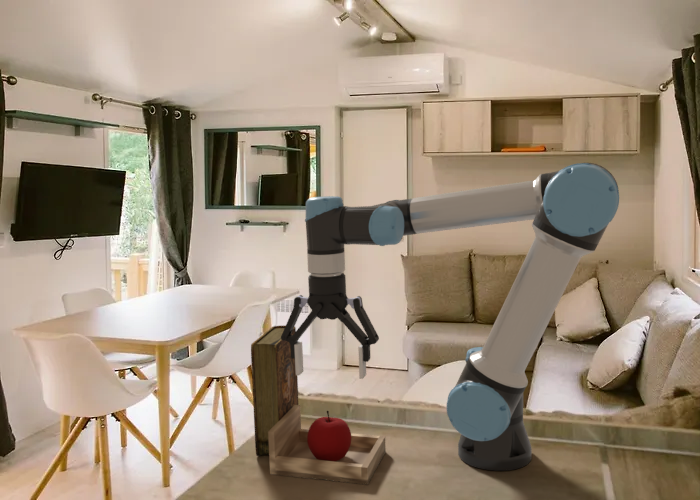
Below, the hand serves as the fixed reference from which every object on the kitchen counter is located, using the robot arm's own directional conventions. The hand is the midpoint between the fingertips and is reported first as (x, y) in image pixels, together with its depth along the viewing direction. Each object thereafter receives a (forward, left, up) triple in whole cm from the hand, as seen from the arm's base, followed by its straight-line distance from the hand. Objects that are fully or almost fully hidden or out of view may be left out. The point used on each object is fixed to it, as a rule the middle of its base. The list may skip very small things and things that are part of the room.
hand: (330, 375), depth 143 cm
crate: (+1, +1, -19) cm, 19 cm away
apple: (+1, 0, -18) cm, 18 cm away
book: (+15, -6, -19) cm, 25 cm away
